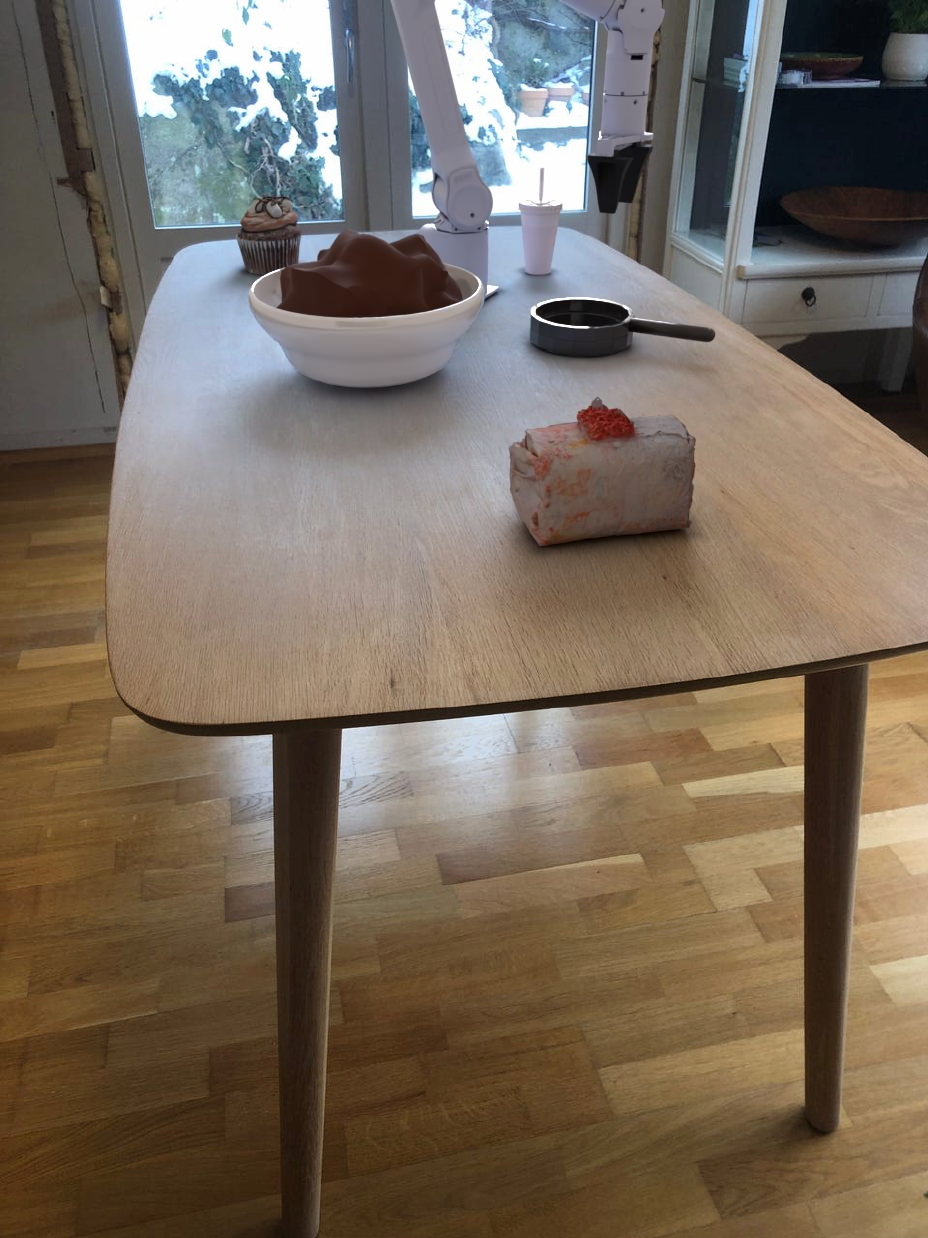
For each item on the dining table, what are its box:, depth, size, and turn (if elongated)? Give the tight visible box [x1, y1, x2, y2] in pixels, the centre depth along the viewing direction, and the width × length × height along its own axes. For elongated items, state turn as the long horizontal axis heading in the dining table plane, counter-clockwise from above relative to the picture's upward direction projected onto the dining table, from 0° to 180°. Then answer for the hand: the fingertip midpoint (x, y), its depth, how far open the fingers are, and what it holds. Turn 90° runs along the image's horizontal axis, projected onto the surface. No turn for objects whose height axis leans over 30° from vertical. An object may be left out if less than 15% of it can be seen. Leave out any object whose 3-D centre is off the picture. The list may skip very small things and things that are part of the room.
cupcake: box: [235, 194, 303, 276], centre depth 141 cm, size 10×10×10 cm
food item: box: [508, 396, 697, 547], centre depth 74 cm, size 14×8×10 cm, turn 102°
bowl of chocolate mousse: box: [247, 229, 485, 388], centre depth 102 cm, size 25×25×15 cm
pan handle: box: [629, 317, 716, 343], centre depth 110 cm, size 11×2×2 cm, turn 65°
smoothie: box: [517, 167, 564, 276], centre depth 138 cm, size 6×6×14 cm
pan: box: [529, 297, 636, 358], centre depth 114 cm, size 12×12×4 cm
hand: (616, 207), depth 130 cm, fingers open, 7 cm apart
